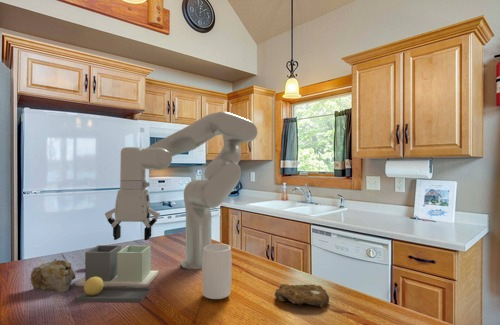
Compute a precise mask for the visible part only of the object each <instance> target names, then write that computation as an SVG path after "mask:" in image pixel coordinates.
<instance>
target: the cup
mask: <svg viewBox="0 0 500 325" xmlns="http://www.w3.org/2000/svg"><path fill="white" fill-rule="evenodd" d="M232 257H233V256H232V247H231V246H230V245H229V244H226V243H211V244H210V245H207V246H205V247H204V248H203V257H202V270H201V279H202V280H201V281H202V282H201V283H202V295H203V296H204V297H205V298H207V299H211V300H221V299H225V298H227V297H228V296H230V294H231V290H232V276H233V275H232V272H233V271H232V269H233V268H232V267H233V262H232V261H233V260H232Z"/></svg>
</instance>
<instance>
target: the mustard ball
mask: <svg viewBox="0 0 500 325" xmlns="http://www.w3.org/2000/svg"><path fill="white" fill-rule="evenodd" d="M103 287H105V286H104V282H103V280H102V279H101V278H99V277H92V278H90V279H88V280H87V281H86V283H85V285H84V286H83V292H84V291H85V293H86V294H87V295H90V296H94V295H97V294H99V293H100V292H101V291H102V289H103Z"/></svg>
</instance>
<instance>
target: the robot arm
mask: <svg viewBox="0 0 500 325" xmlns="http://www.w3.org/2000/svg"><path fill="white" fill-rule="evenodd" d="M257 135H258V127H257V126H256V124H255V123H254V122H253V121H251V120H249V119H248V118H247V119H246V118H244V117H241V116H239V115H237V114H233V113H231V112H228V111H217V112H214V113H209V114H207V115H204V116H203V117H201V118H199V119H198V120H196V121H195V122H193V123H191V124H189V125H187V126H186V127H183V128H182V129H179V130H177V131H176V132H174V133H171V134H169V135H168V136H166V137H164V138H162V139H159V140H158V141H157V142H154V143H152V144H151V145H149V146H147V147H146V148H142V147H138V146H137V147H136V146H135V147H134V146H127V147H123V148H122V149H121V150H120V170H119V171H120V173H119V174H120V175H119V176H120V177H119V178H120V179H119V182H120V183H119V184H120V186H119V188H120V189H118V190H117V194H116V199H115V204H114V206H115V207H114V208H112V209H110V210H108V211H106V212H105V213H104V216H105V218H106V220H107V222H108V224H110V225H111V227H112V236H113V240H114V241H116V240H118V239H120V238H121V236H122V235H121V234H122V231H121V230H122V229H121V228H122V227H121V223H123V222H125V223H126V222H129V223H133V222H134V223H136V222H137V223H140V222H142V223H143V224H144V226H145V227H144V229H143V230H144V232H143V233H144V239H143V240H144V241H149V239H150V238H151V237H152V227H153V225H154V224H156V223H157V221H158V219H159V217H160V214H161V213H160V212H158V211H156V210H155V209H153V208H151V201H150V193H149V189H147V187H150V182H147V179H146V172H147V171H146V170H154V171H163V170H165V169H167V168H168V167H170V165H171V164H172V161H173V157H175V156H178V155H180V154H185V153H187V152H191V151H193V150H196V149H197V148H199V147H200V146H202V145H204V144H205V143H207V142H208V141H210V140H212V139H214V138H215V137H216V136H222V139H223V140H222V141H223V146H222V149H221V150H220V152H218V154H217V155H216V156H215V157H214V158H213V159H212V161H211V162H209V164H208V165H207V166H206V168H205V170H204V173H203V175H204V179H205V180H202V179H195V180H191V181H189V182H188V183H187V184H186V185H185V187H184V190H183V202H184V207H185V258H184V259H183V260H182V261H181V263H180V266H181V268H183V269H185V270H189V271H202V257H203V248H204V247H205V246H207V245H210V244H212V223H213V222H212V221H213V220H212V218H213V217H212V210H211V209H215V208H218V207H219V206H220V205H221V204H222V203H224V201H225V200H226V199H227V198H228V196H230V194H231V193H232V192H233V191H234V189H235V188H236V187H237V186H238V184H239V182H240V181H241V177H242V169H241V166H240V165H239V163H240V161H241V159H242V143H243V144H245V143H247V144H248V143H250V142H253V141H254V140H255V139H256V138H257ZM113 214H114V218H113ZM151 215H152V216H153V217H152V219H150V218H151Z"/></svg>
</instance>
